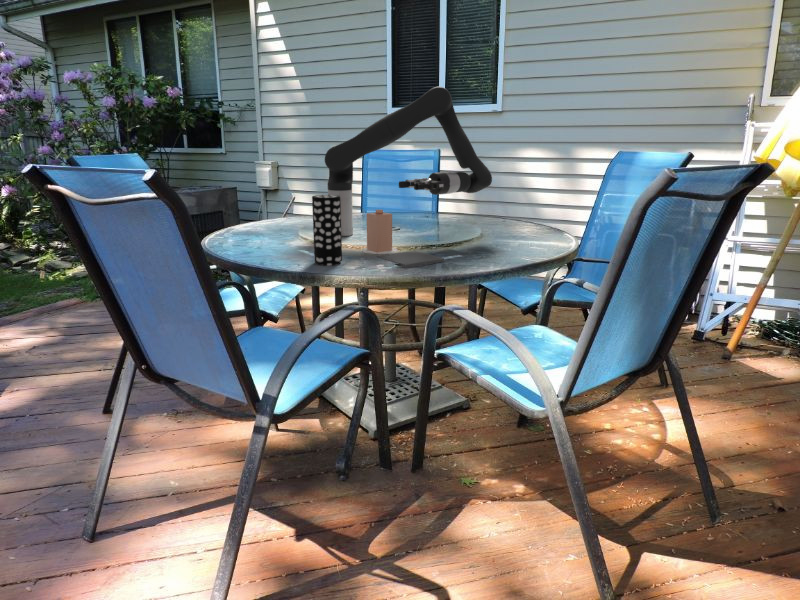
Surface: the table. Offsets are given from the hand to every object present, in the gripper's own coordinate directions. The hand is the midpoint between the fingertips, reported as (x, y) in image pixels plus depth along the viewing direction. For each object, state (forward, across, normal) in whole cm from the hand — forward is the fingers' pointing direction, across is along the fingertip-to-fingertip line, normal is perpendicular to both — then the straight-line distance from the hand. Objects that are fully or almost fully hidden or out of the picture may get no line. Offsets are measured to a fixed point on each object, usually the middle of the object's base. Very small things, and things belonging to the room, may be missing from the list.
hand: (406, 185), depth 186 cm
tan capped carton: (+11, 0, +20) cm, 23 cm away
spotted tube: (+33, +3, +21) cm, 39 cm away
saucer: (+11, 0, +21) cm, 24 cm away
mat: (+10, +15, +21) cm, 28 cm away
